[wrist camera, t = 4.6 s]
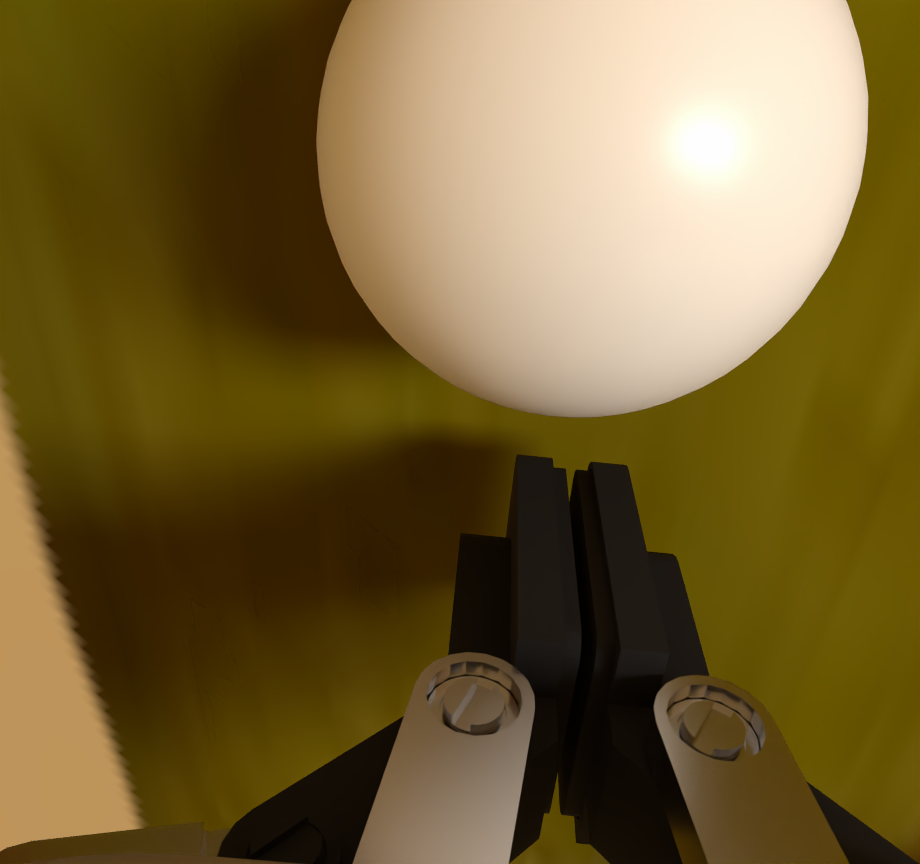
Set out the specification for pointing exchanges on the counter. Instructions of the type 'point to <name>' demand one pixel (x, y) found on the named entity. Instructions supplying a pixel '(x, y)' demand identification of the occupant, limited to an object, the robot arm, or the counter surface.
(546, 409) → the cue ball
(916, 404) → the counter surface
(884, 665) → the counter surface
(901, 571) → the counter surface
